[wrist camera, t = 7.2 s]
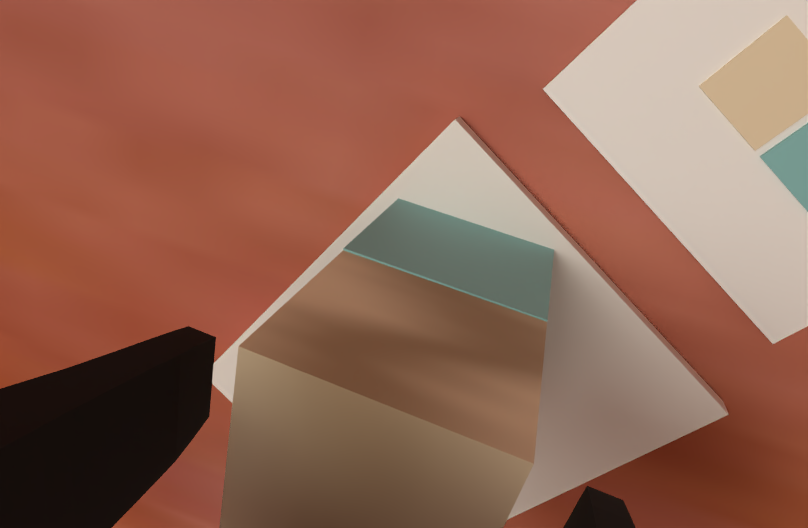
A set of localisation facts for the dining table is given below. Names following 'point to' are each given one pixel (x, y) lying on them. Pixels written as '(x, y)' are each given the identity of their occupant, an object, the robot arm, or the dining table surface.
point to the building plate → (549, 327)
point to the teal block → (460, 256)
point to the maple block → (383, 406)
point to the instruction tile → (710, 137)
